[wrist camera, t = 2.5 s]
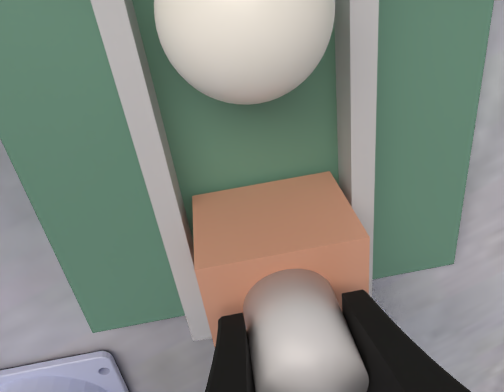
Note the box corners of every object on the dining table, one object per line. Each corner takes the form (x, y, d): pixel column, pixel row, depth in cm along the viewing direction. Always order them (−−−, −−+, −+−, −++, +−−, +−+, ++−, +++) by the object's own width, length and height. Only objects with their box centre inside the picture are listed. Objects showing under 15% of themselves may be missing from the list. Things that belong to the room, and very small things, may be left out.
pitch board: (442, 249, 20) (472, 287, 18) (96, 315, 20) (86, 362, 17) (556, -616, 9) (677, -794, 7) (-287, -530, 8) (-460, -698, 6)
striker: (333, 256, 18) (407, 419, 12) (211, 279, 18) (226, 456, 12) (330, 171, 16) (418, 317, 10) (192, 196, 16) (197, 360, 10)
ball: (313, 64, 14) (361, 114, 10) (177, 87, 14) (174, 146, 10) (305, -101, 12) (362, -115, 8) (140, -76, 11) (119, -78, 8)
